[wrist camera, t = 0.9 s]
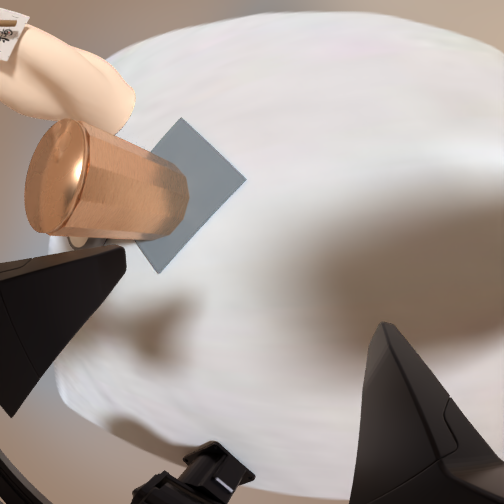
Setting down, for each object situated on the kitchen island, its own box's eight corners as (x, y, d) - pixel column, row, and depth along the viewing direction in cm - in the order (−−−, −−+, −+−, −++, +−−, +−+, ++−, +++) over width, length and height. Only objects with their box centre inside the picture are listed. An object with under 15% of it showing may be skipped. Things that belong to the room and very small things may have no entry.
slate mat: (160, 273, 26) (158, 273, 26) (112, 204, 28) (110, 204, 28) (246, 179, 24) (245, 178, 23) (182, 118, 25) (180, 117, 25)
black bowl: (98, 259, 29) (77, 260, 26) (82, 230, 30) (62, 229, 27) (119, 229, 28) (98, 227, 25) (101, 201, 29) (80, 197, 26)
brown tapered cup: (152, 255, 26) (42, 258, 14) (116, 203, 27) (17, 185, 15) (204, 196, 24) (98, 158, 12) (160, 148, 26) (64, 100, 14)
